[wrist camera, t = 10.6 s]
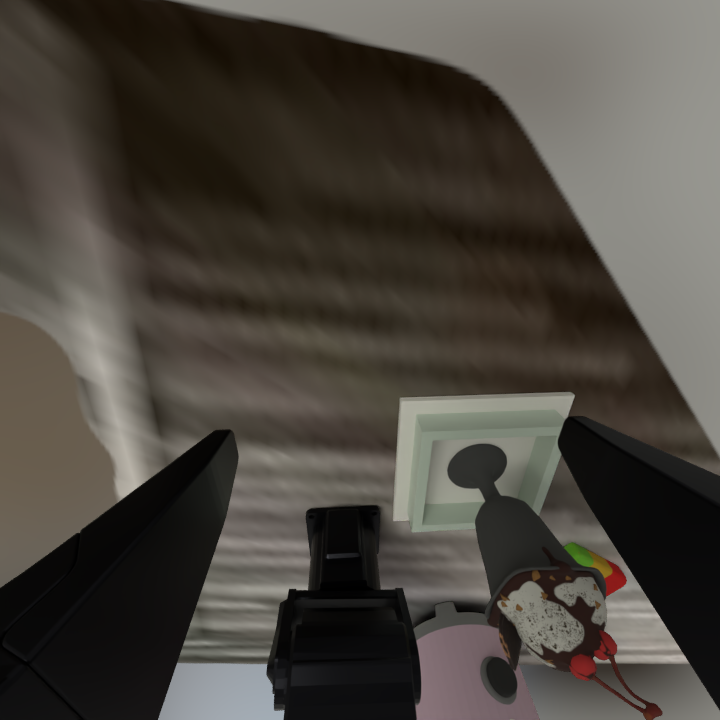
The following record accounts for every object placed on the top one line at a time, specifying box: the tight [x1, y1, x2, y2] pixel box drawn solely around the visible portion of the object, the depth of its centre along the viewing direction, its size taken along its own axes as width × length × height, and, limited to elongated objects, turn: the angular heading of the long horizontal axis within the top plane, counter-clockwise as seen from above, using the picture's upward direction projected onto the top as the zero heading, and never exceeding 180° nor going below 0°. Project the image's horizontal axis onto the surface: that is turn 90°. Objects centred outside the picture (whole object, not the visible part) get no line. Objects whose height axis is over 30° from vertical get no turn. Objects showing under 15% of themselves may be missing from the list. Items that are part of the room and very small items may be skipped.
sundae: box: [447, 444, 662, 720], centre depth 20 cm, size 7×7×15 cm
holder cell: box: [392, 392, 575, 532], centre depth 26 cm, size 13×13×2 cm
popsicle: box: [564, 543, 627, 596], centre depth 34 cm, size 6×15×2 cm, turn 55°
